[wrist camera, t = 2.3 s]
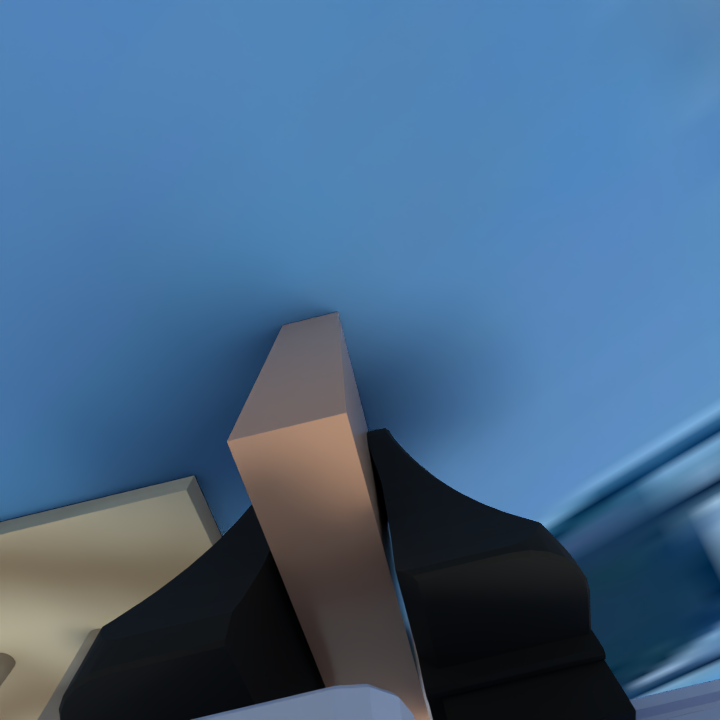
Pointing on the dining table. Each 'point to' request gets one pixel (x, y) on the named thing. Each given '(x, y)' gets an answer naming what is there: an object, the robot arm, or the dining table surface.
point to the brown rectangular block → (327, 511)
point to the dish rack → (86, 581)
